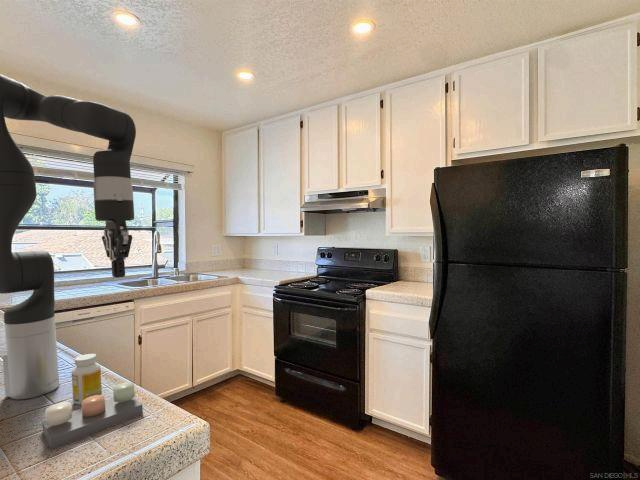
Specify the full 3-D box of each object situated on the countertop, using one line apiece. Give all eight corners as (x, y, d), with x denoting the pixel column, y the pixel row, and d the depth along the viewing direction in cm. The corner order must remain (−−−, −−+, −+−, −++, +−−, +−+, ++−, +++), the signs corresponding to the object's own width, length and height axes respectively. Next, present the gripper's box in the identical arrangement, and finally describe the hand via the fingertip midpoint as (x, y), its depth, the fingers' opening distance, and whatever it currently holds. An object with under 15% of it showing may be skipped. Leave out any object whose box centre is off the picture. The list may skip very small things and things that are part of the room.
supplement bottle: (68, 406, 76) (65, 362, 76) (82, 394, 82) (79, 353, 81) (94, 404, 77) (91, 360, 77) (106, 392, 82) (104, 351, 82)
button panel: (51, 449, 61) (50, 438, 61) (42, 432, 67) (42, 421, 67) (142, 413, 72) (142, 404, 72) (128, 401, 77) (128, 392, 77)
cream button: (40, 426, 63) (40, 413, 63) (56, 414, 67) (56, 402, 67) (62, 425, 63) (61, 412, 63) (76, 414, 67) (76, 401, 67)
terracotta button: (77, 417, 67) (76, 404, 67) (90, 406, 71) (90, 395, 71) (97, 416, 67) (96, 404, 67) (109, 406, 71) (108, 394, 71)
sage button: (109, 402, 71) (109, 390, 71) (120, 393, 75) (119, 382, 75) (128, 401, 71) (127, 390, 71) (138, 392, 75) (137, 381, 75)
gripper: (86, 201, 80) (91, 277, 81) (104, 196, 71) (109, 282, 72) (122, 201, 86) (126, 273, 86) (143, 197, 77) (147, 277, 77)
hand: (118, 277), depth 79 cm, fingers closed
